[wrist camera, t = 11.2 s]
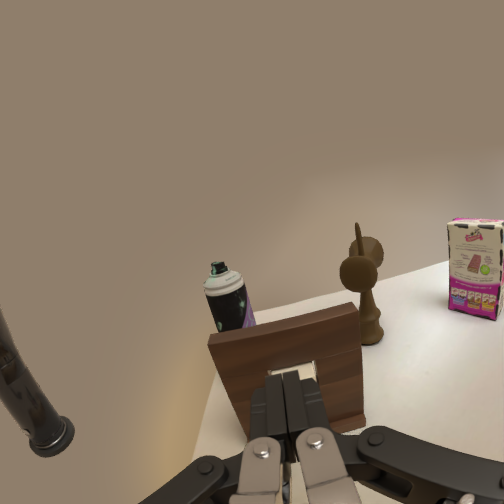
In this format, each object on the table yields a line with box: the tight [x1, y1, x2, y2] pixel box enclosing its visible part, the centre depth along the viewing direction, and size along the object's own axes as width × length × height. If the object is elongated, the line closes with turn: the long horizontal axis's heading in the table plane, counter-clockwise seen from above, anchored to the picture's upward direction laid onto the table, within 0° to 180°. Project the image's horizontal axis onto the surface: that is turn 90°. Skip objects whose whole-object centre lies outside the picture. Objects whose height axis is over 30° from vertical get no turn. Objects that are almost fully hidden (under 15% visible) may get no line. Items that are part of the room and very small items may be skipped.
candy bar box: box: [447, 218, 504, 320], centre depth 36 cm, size 11×5×16 cm, turn 27°
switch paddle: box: [271, 361, 317, 382], centre depth 25 cm, size 3×4×3 cm
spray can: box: [203, 262, 256, 333], centre depth 39 cm, size 6×6×20 cm
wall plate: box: [207, 302, 366, 444], centre depth 29 cm, size 8×14×16 cm, turn 89°
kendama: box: [340, 223, 384, 344], centre depth 41 cm, size 6×10×20 cm, turn 149°
